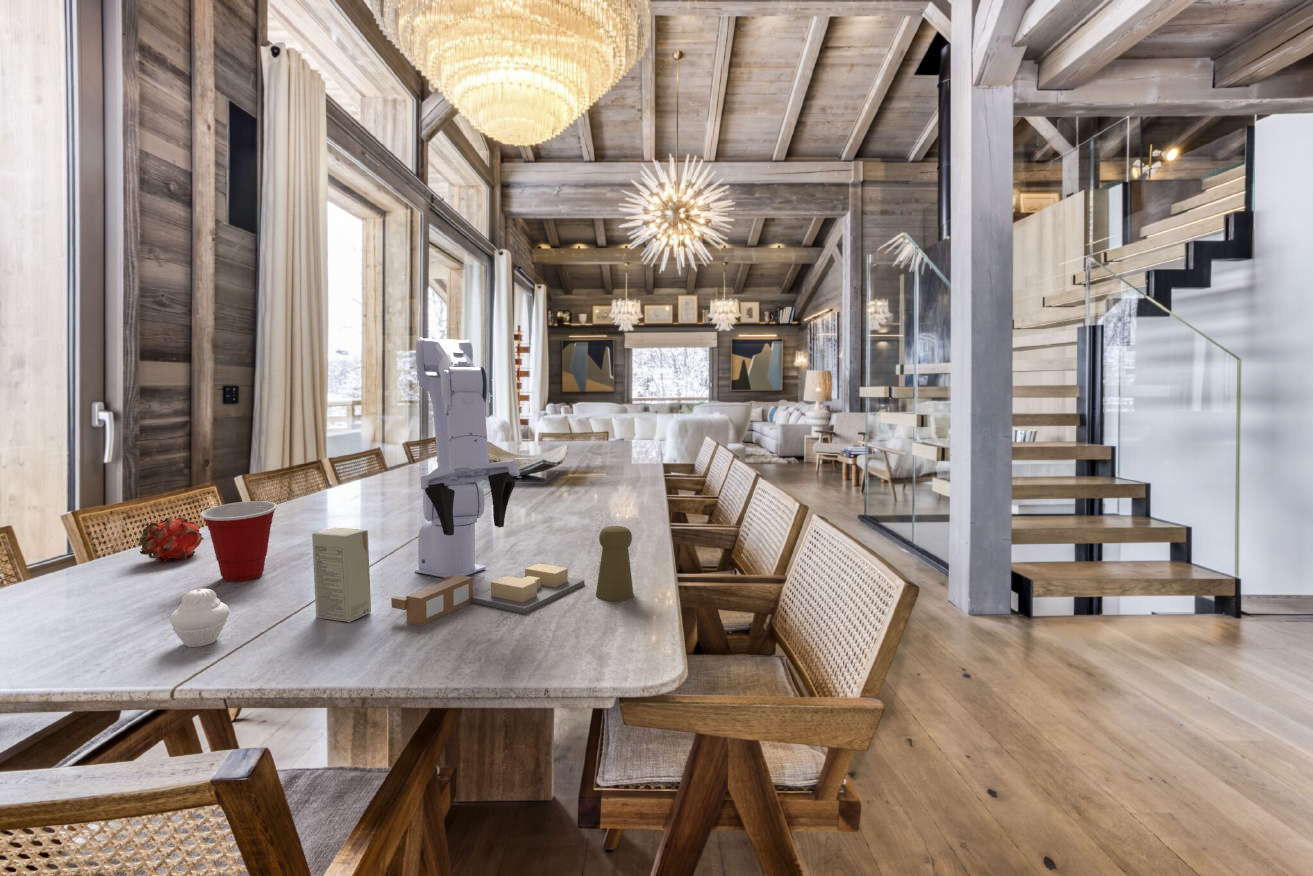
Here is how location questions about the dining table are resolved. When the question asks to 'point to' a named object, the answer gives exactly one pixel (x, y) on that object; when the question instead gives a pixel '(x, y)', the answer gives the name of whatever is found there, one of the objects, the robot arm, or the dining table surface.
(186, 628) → the muffin
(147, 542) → the dragon fruit
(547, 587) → the gray tray with blocks
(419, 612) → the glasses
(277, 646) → the dining table surface
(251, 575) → the plastic cup
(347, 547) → the skincare box
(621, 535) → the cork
